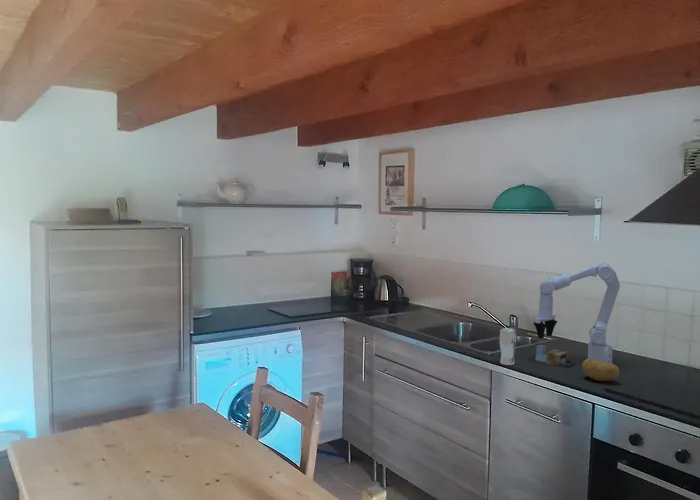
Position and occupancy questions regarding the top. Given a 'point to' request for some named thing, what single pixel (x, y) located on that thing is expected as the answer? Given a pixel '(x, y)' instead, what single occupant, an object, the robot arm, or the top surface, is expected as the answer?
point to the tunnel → (555, 357)
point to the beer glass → (507, 345)
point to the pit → (567, 364)
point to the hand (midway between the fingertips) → (545, 337)
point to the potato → (600, 370)
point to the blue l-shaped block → (542, 354)
